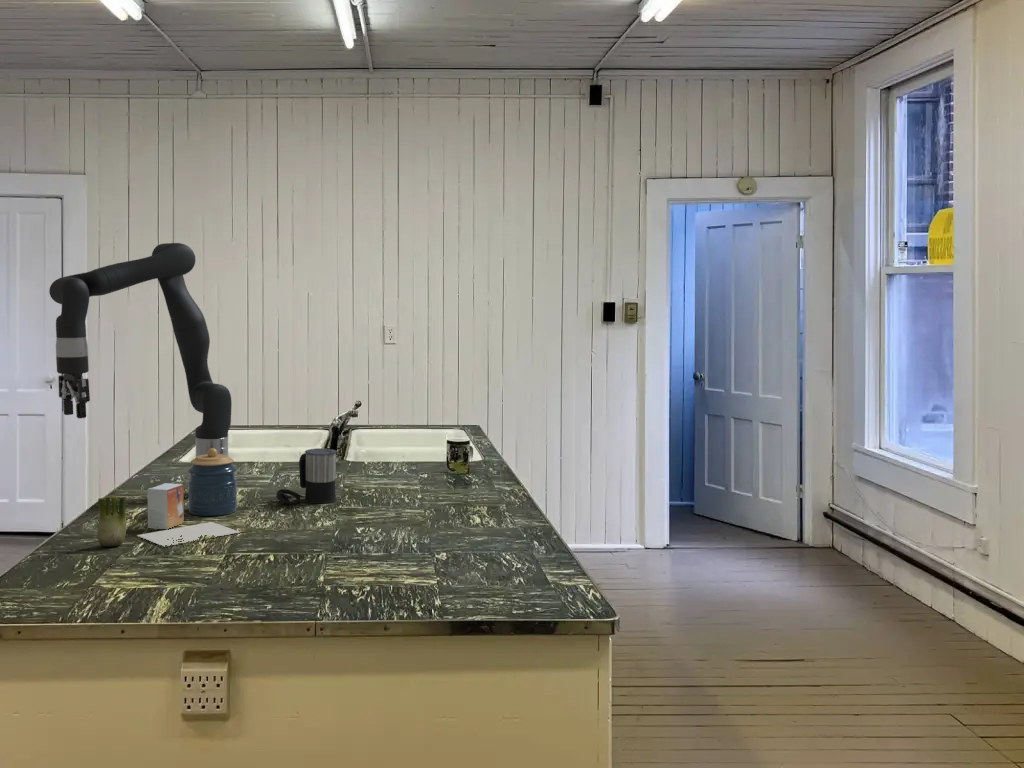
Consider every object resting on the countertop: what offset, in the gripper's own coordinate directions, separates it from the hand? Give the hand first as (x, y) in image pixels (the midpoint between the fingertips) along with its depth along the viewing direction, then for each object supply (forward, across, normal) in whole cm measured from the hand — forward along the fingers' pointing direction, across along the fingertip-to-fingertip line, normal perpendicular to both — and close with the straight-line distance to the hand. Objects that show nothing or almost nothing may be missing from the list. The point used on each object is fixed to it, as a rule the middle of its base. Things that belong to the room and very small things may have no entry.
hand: (74, 416), depth 242 cm
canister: (+28, -17, -29) cm, 44 cm away
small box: (+28, -24, -12) cm, 38 cm away
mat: (+27, -36, -13) cm, 47 cm away
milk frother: (+28, -23, -55) cm, 67 cm away
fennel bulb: (+27, -33, +6) cm, 43 cm away
